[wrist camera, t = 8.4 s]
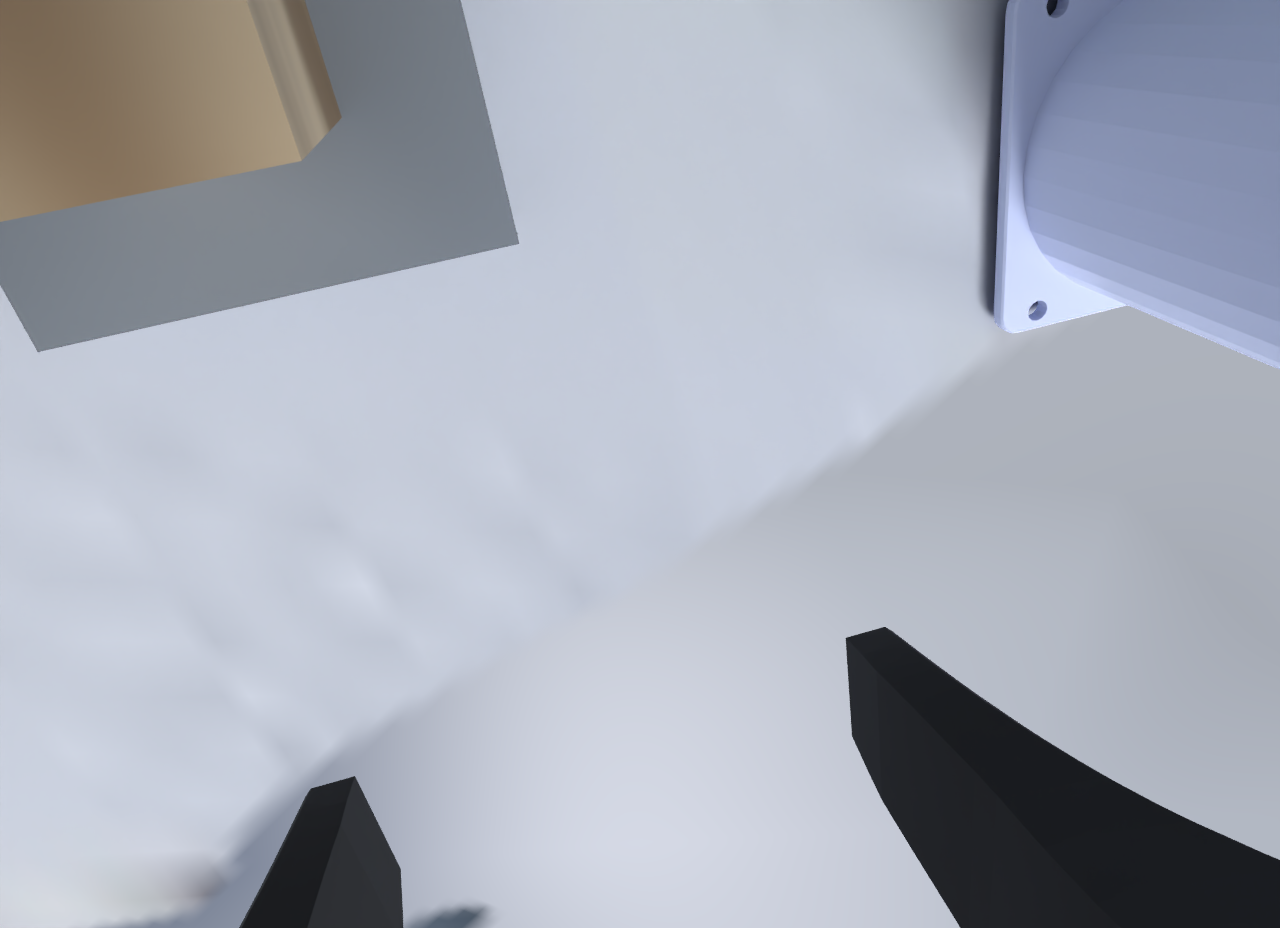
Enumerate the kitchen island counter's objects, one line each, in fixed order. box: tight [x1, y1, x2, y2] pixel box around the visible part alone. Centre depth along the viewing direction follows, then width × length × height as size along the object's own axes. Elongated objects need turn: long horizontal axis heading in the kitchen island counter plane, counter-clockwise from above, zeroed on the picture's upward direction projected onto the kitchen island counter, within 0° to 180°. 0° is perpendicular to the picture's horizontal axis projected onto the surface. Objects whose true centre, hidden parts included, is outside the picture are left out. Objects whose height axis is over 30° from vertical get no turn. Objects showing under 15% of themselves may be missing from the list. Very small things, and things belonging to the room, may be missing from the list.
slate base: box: [0, 0, 519, 352], centre depth 15 cm, size 9×9×2 cm
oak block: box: [0, 0, 342, 222], centre depth 11 cm, size 4×4×5 cm
